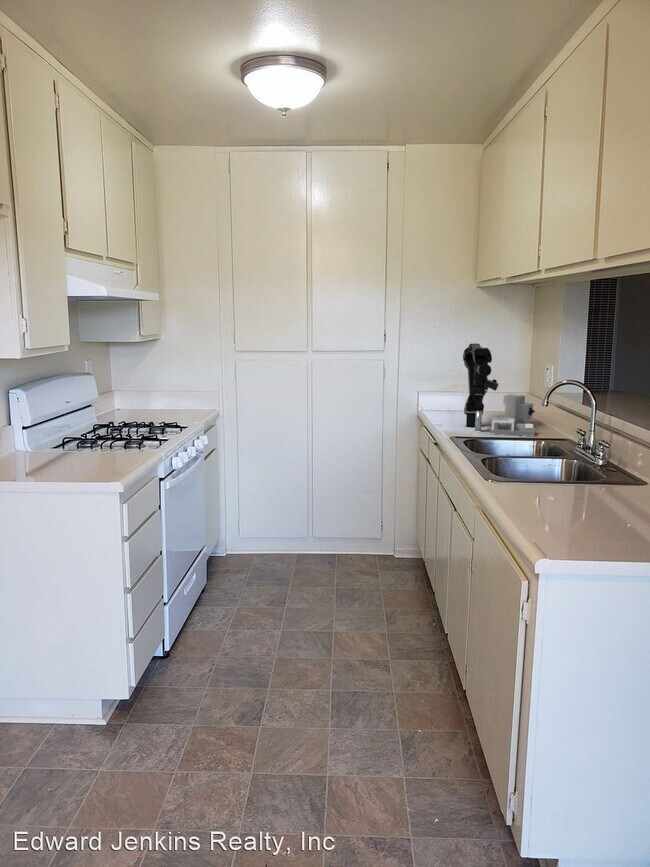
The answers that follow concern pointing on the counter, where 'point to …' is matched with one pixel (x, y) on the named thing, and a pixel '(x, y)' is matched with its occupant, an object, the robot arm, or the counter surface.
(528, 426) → the rocker switch
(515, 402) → the circuit breaker
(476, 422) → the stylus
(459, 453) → the counter surface
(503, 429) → the breaker panel
